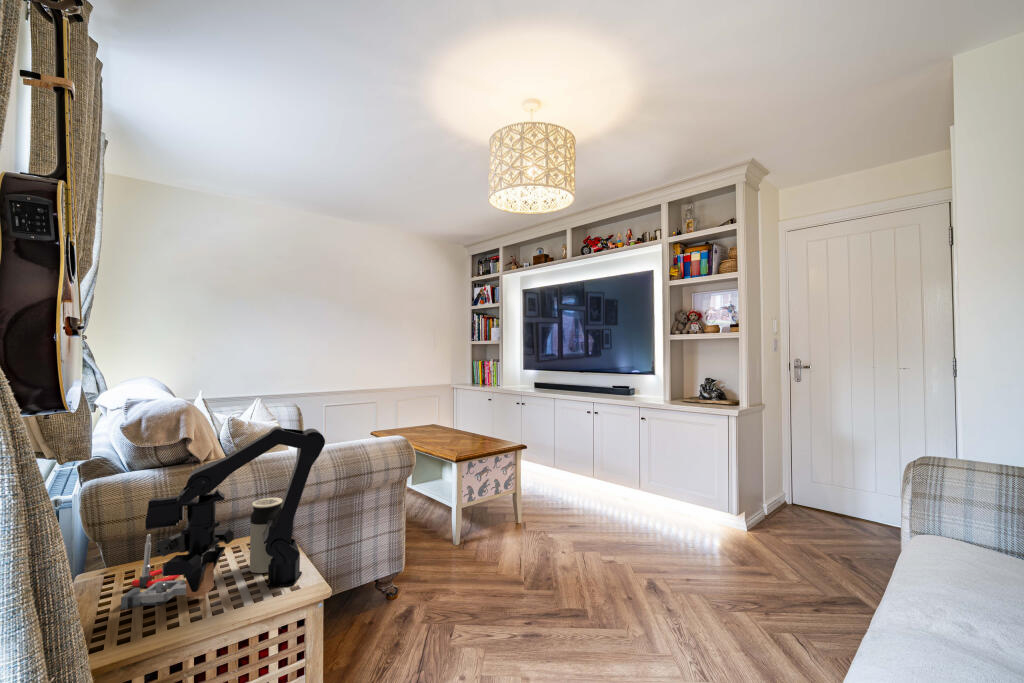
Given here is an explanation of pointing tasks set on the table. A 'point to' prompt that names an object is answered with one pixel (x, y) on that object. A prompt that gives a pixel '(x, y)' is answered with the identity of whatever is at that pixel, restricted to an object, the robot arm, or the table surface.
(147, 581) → the tow hook
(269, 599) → the table surface
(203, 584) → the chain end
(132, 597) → the hook
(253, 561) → the travel mug
